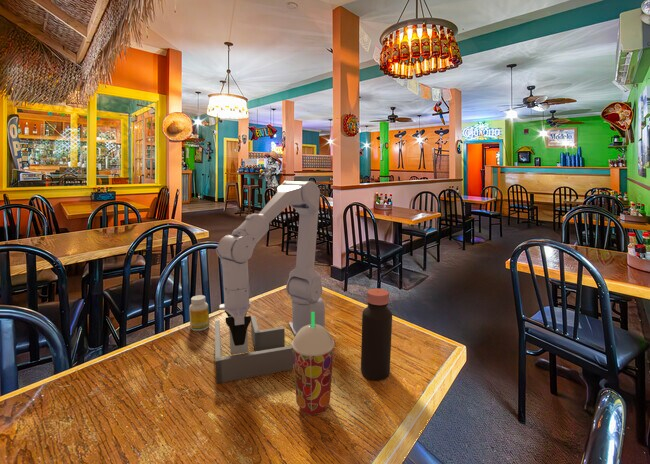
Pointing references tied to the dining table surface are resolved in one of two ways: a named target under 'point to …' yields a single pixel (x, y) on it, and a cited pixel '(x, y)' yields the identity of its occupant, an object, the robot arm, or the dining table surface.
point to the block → (239, 348)
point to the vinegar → (376, 335)
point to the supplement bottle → (199, 313)
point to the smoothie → (313, 367)
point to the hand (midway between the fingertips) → (238, 339)
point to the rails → (254, 355)
